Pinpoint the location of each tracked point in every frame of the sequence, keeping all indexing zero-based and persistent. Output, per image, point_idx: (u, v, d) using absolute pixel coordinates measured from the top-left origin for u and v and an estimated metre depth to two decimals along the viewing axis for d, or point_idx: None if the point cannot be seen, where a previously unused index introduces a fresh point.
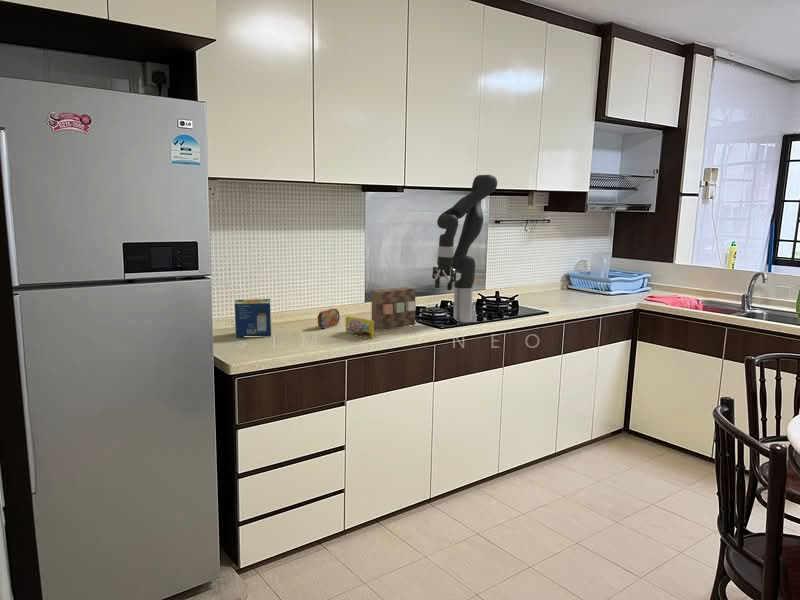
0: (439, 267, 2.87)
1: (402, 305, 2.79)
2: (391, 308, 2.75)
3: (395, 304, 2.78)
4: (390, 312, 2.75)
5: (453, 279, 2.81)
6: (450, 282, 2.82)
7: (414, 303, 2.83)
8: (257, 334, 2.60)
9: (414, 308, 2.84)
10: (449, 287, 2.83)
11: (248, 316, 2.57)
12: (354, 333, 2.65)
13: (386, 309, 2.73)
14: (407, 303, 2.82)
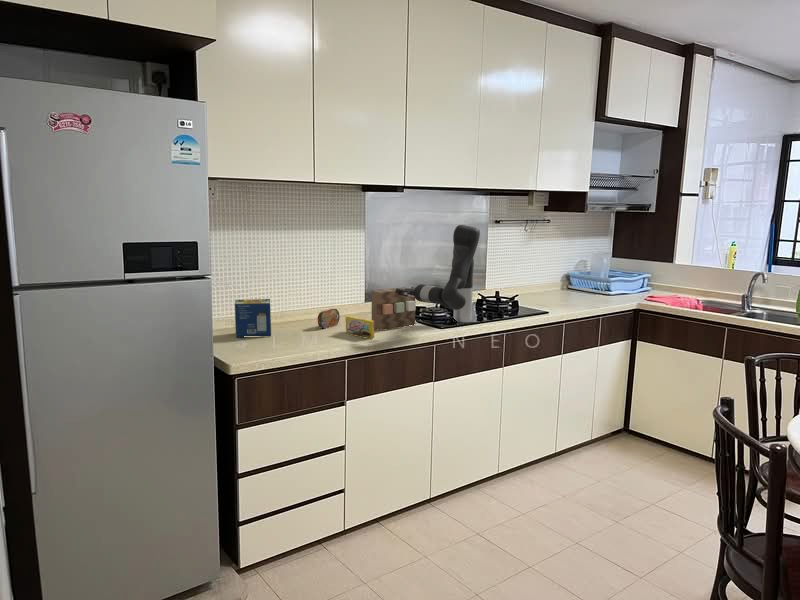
0: None
1: (402, 305, 2.79)
2: (391, 308, 2.75)
3: (395, 304, 2.78)
4: (390, 312, 2.75)
5: None
6: None
7: (414, 303, 2.83)
8: (257, 334, 2.60)
9: (414, 308, 2.84)
10: None
11: (248, 316, 2.57)
12: (354, 333, 2.65)
13: (386, 309, 2.73)
14: (407, 303, 2.82)
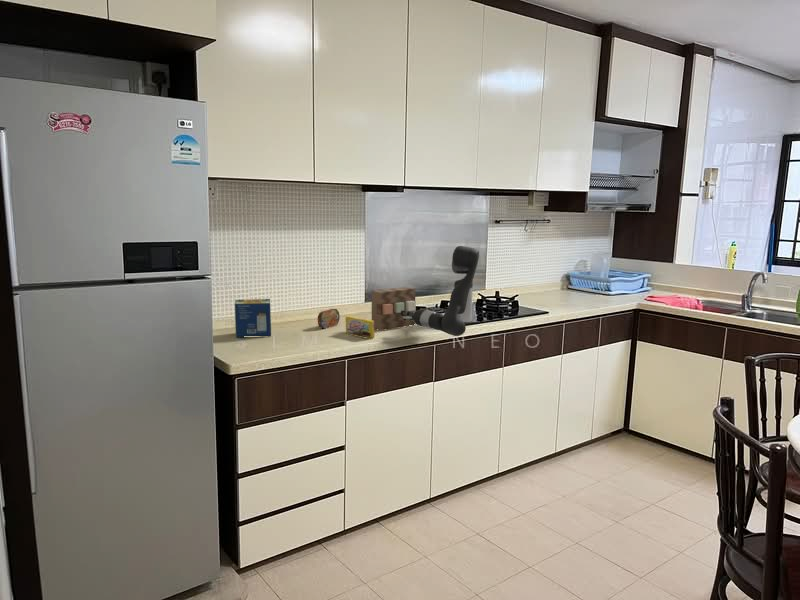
0: None
1: (402, 305, 2.79)
2: (391, 308, 2.75)
3: (395, 304, 2.78)
4: (390, 312, 2.75)
5: None
6: None
7: (414, 303, 2.83)
8: (257, 334, 2.60)
9: (414, 308, 2.84)
10: None
11: (248, 316, 2.57)
12: (354, 333, 2.65)
13: (386, 309, 2.73)
14: (407, 303, 2.82)
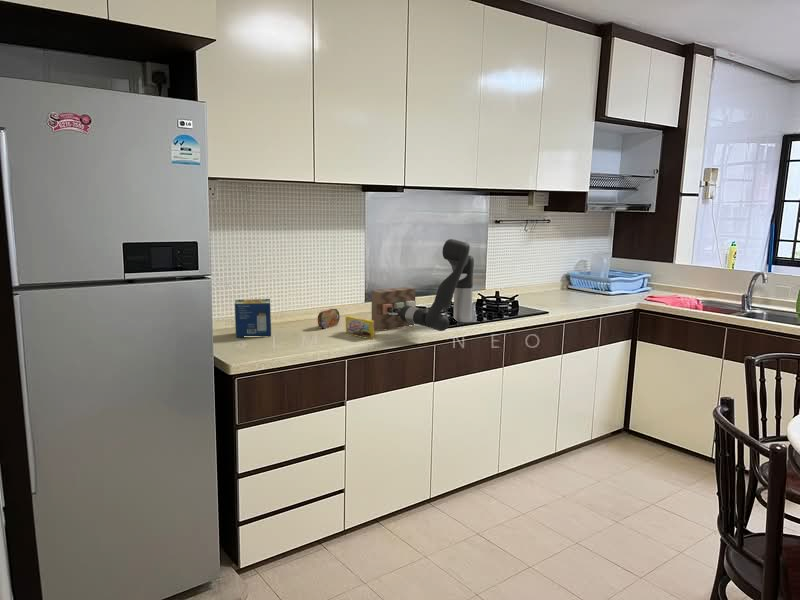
0: None
1: (402, 305, 2.79)
2: None
3: (395, 304, 2.78)
4: None
5: None
6: None
7: (414, 303, 2.83)
8: (257, 334, 2.60)
9: None
10: None
11: (248, 316, 2.57)
12: (354, 333, 2.65)
13: (386, 309, 2.73)
14: (407, 303, 2.82)
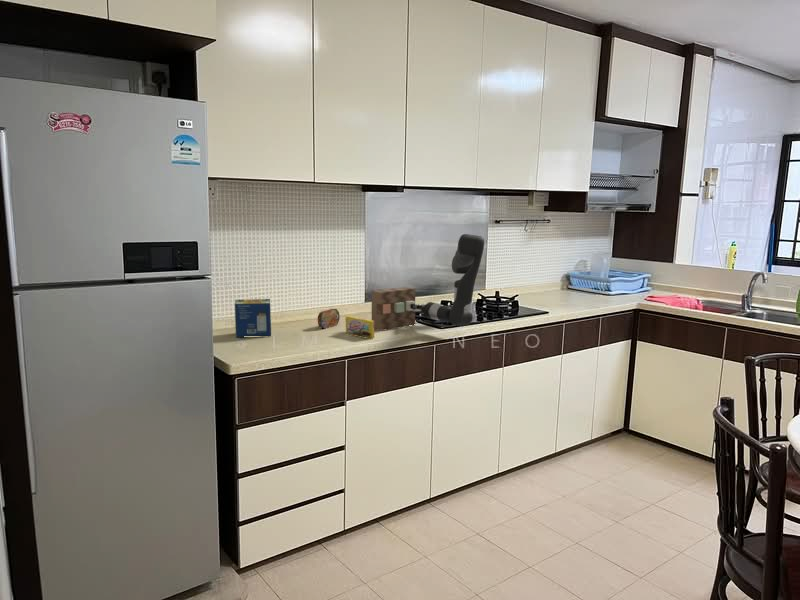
0: None
1: (402, 305, 2.79)
2: (389, 307, 2.76)
3: (395, 304, 2.78)
4: (388, 311, 2.76)
5: None
6: None
7: (413, 303, 2.84)
8: (257, 334, 2.60)
9: None
10: None
11: (248, 316, 2.57)
12: (354, 333, 2.65)
13: (384, 308, 2.74)
14: (406, 303, 2.82)
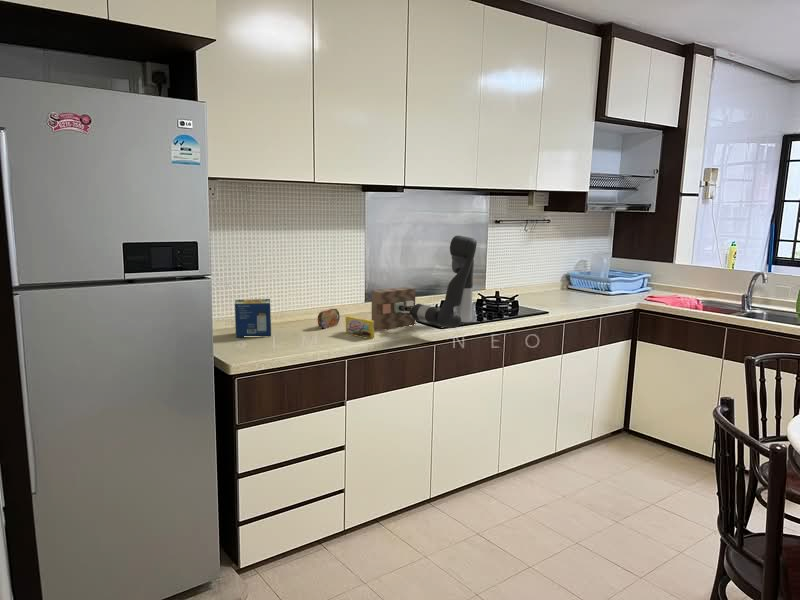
0: None
1: None
2: (389, 307, 2.76)
3: (394, 304, 2.78)
4: (388, 311, 2.76)
5: None
6: None
7: (412, 303, 2.84)
8: (257, 334, 2.60)
9: None
10: None
11: (248, 316, 2.57)
12: (354, 333, 2.65)
13: (384, 308, 2.74)
14: None
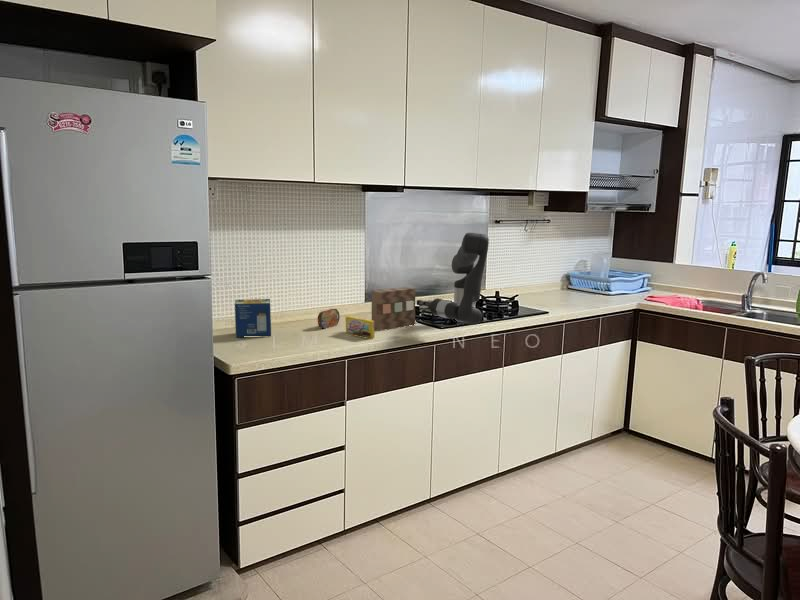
0: None
1: (400, 304, 2.80)
2: (389, 307, 2.76)
3: None
4: (388, 311, 2.76)
5: None
6: None
7: (412, 303, 2.84)
8: (257, 334, 2.60)
9: (412, 308, 2.85)
10: None
11: (248, 316, 2.57)
12: (354, 333, 2.65)
13: (384, 308, 2.74)
14: None
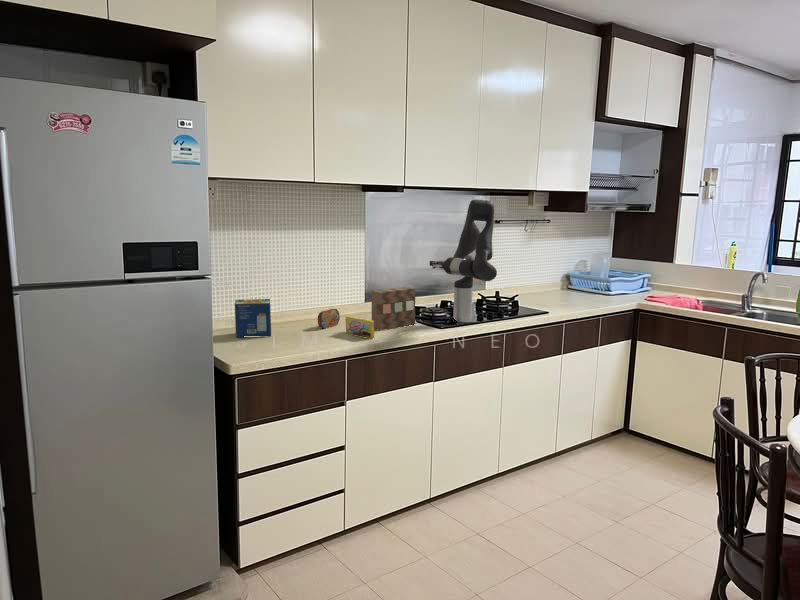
0: (442, 268, 2.57)
1: (400, 304, 2.80)
2: (389, 307, 2.76)
3: None
4: (388, 311, 2.76)
5: None
6: None
7: (412, 303, 2.84)
8: (257, 334, 2.60)
9: (412, 308, 2.85)
10: None
11: (248, 316, 2.57)
12: (354, 333, 2.65)
13: (384, 308, 2.74)
14: None
